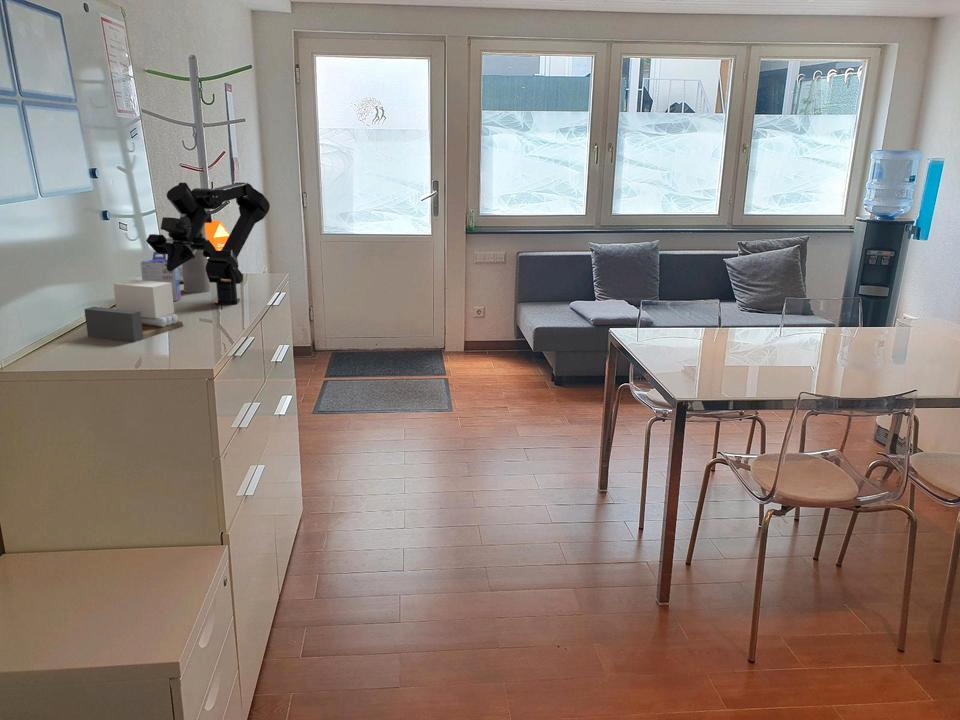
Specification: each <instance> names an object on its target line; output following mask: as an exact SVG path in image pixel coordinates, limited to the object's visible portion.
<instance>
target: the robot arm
mask: <svg viewBox="0 0 960 720" xmlns="http://www.w3.org/2000/svg"><path fill="white" fill-rule="evenodd" d="M166 198H167V200H168V201H169V202H170V204H171V205H172V206H173V207H174V208H175V210H176V211H177V212H178V213H179V215H180V214H185V215H184V217H181V218H180V217H179V218H178V217H177V218H176V217H167V216H164V217H162V220H161V224H160V230H162V231H165V232H167V236H168V237H167V238H166V237H165V235H164V234H156V233H155V234H154V233H151V234H149V235H148V236H147V238H146V240H145V241H146V243H147V244H148V245H149V246H150V247H151V248H152V249H153V250H154V252H156V253H159V254H158V255H162V254H166V255H167V256H166V260H167V270H168V271H173V270H174V269H176V268H177V267H179V266H180V265H182V264H183V263H185V262H187V261H188V260H190V259H192V258H195V256H194V254H195V252H197V250H204V251H203V255H204V257H209V258H208V259H207V261H208V262H207V264H206V272H207V276H208V279H209V282H210V284H211V283H213V284H216V297H217V299H216V301H214V305H237V304H238V303H239V302H240V301H241V298H238V290H237V289H238V288H237V284H238V285H239V284H241V283H243V281H244V274H243V273H242V272H241V271H240V269H239V262H238V261H239V260H238V257H239V255H240V253H241V252H242V249H243V247H244V245H245V243H246V242H247V240H248V238H249V237H250V234H251V232H252V230H253V229H254V227H255V226H256V225H255V224H257V223H258V222H260V221H262V220H264V218H265V217H266V215H267V214H268V213H269V211H270V207H271V206H270V202H269V201H268V199H267V198H266V197H265V195H264V194H263V193H261V192H260V191H258V190H257V189H255V188H254V187H253V186H252V184H251V183H249V182H238V181H237V182H234V183H232V184H227V185H224V186H220V187H215V188H203V187H202V188H199V187H198V188H197V187H195V188H193V189H192V190H191V188H190V187H189V185H188V184H187V182H179V183H178V185H175V186H173V187H172V188H170V189H169V190H167V193H166ZM234 199H235V202H236V203H235V204H237V205H238V210H239V217H238V218H237V221H236V223H235V224H234V226H233V228H232V230H231V232H230V234H229V237H228V239H227V241H226V243H225V245H224V246H223V248H222V250H216V249H215V247H214V246H213V245H212V243H211V242H210V241H209V239H208V238H204V237H202V236H203V235H202V234H201V230H202V228H203V226H204V224H205V223H212V218H211V213H209V212H207V210H217V209H219V208H220V207H222V206H223V203H225V202H228V201H232V200H234ZM169 237H172V238H173V239H170V238H169Z"/></svg>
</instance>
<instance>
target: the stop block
mask: <svg viewBox="0 0 960 720" xmlns="http://www.w3.org/2000/svg"><path fill="white" fill-rule="evenodd" d="M83 309H84V318H85V325H86V332H87V333H86V334H87V337H88V338H96V339H97V338H98V339H105V340H106V339H107V340H115V341H123V342H124V341H125V342H132V343H136V342H139V341H141V340H144V339H143V331H142V322H141V312H140V311H132V310H122V309H116V308H108V307H100V306H99V307H98V306H92V307H91V306H90V307H88V308H83Z"/></svg>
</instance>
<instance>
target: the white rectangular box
mask: <svg viewBox="0 0 960 720" xmlns="http://www.w3.org/2000/svg"><path fill="white" fill-rule="evenodd" d="M112 285H113V291H114V301H115V309H122V310H132V311H140V312H141V322H142V325H151V326H161V327H165V326H166V325H171V324H172V323H176V322H177V321H179V320H178V319H179V318H178V315H177V314H175V307H174V301H173V295H172V284H171V283H169V282H157V281H145V280H142V279H129V280H125V281H120V282H115V283H113V284H112Z"/></svg>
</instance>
